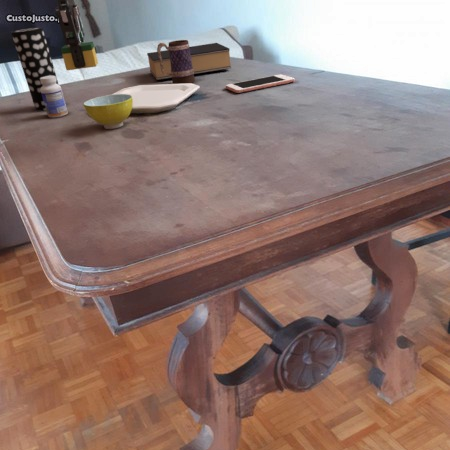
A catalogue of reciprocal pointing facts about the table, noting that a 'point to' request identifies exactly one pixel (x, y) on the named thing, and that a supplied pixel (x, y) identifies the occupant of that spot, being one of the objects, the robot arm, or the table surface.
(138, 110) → the plate
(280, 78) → the cell phone
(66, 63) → the sponge
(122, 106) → the bowl
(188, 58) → the mug
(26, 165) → the table surface
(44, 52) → the white-spotted black cylinder
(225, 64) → the book
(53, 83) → the pill bottle
